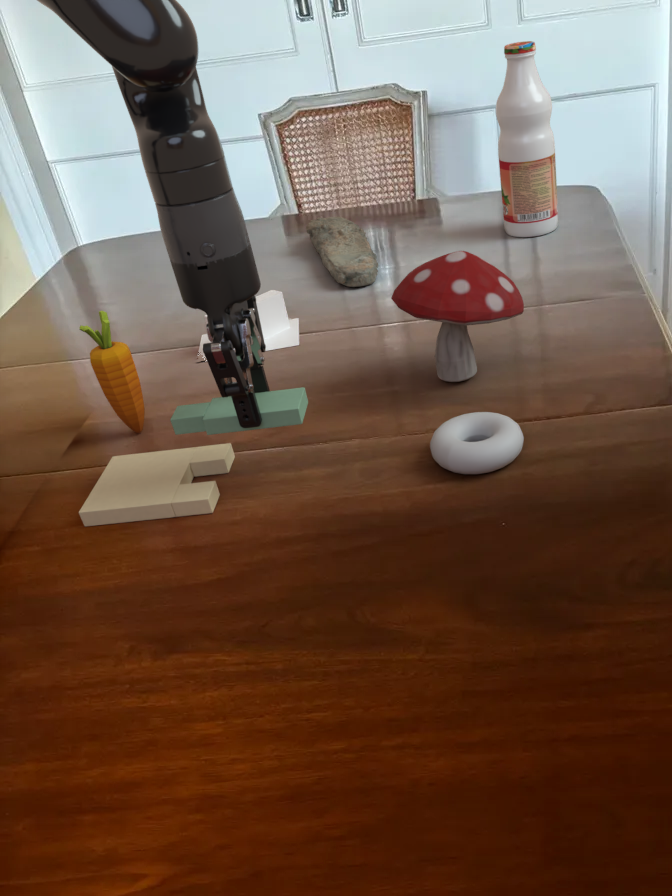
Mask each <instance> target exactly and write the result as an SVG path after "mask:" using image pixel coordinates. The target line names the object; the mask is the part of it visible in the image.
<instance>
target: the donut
mask: <svg viewBox="0 0 672 896" xmlns="http://www.w3.org/2000/svg"><path fill="white" fill-rule="evenodd" d="M524 439H525V437H524V433H523V431H522V429H521V426H520V425H519V423H517V422H516V421H515V420H514V419H512V418H511V417H510V416H508V415H504V414H501V413H498V412H491V411H475V412H469V413H464V414H463V413H462V414H461V415H458V416H454V417H451V418H450V419H448V420H446V421H444V422H443V423H442V424H440V426H438V427H437V428H436V429H435V431H434V432H433V434H432V436H431V439H430V441H429V448H430V453H431V457H432V458H433V460H434V461H435V462H436V463H437V464H438V465H439V466H440V467H441V468H442V469H445V470H447V471H450V472H452V473H456V474H461V475H481V474H486V473H492V472H494V471H497V470H499V469H500V470H501V469H503V468H505V467H506V466H508V465H509V464H511V463H512V462H514V461H515V460H516V458H517V457H518V456H519V455H520V454H521V452H522V450H523V446H524Z"/></svg>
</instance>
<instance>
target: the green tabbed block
mask: <svg viewBox="0 0 672 896" xmlns="http://www.w3.org/2000/svg"><path fill="white" fill-rule="evenodd" d="M255 396H256V399H257V403H258V406H259V410H260V414H261V418H262V422H261V425H260V426H258V427H251V428H242V427H241V426H240V424H239V421H238V417H237V414H236V411H235V407H234V404H233V401H232V397H231V396H230V397H225V398H223V397H222V396H220V397H212V399H211V400H210V401H208V402H206V401H205V402H199V403H189V404H182V405H177V406H176V408H175V409H174V412H173V413H172V416H171V418H170V423H171V426H172V429H173V433H174V434H175V435H177V436H179V435H186V434H195V433H202V432H203V433H204V432H206V435H207V436H211V435H219V434H220V435H221V434H229V433H238V432H248V431H255V430H264V429H272V428H280V427H281V428H282V427H289V426H297V425H298V426H300V425H302V424H303V423H304V419H305V415H306V412H307V408H308V405H309V399H308V394H307V391H306V387H303V386H302V387H295V388H286V389H285V388H284V389H277V390H270V391H268V392H260V393H255Z"/></svg>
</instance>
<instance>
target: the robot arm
mask: <svg viewBox="0 0 672 896" xmlns="http://www.w3.org/2000/svg"><path fill="white" fill-rule="evenodd" d="M36 1H37V2H39V4H41V5H43V6H45V7H46V8H48V9H49V10H50V11H51V12H53V13H54V14H55V15H56V16H57V17H59V18H60V19H61V20H62V21H63V22H64V23H65V24H66V25H67V26H68V28H70V29H71V30H72V31H73V32H74V33H75V34H76V35H78V36H79V37H80V38H81V39H82V40H83V41H84V42H85V43H86V44H87V45H88V46H89V47H91V49H93V50H94V51H95V52H96V53H97V54H98V55H99V56H100V57H102V59H104V60H105V61H106V62H107V63H108V64H109V65H110V66H111V68H112V71H113V74H114V77H115V79H116V82H117V84H118V88H119V91H120V93H121V96H122V99H123V101H124V104H125V107H126V109H127V112H128V115H129V117H130V120H131V122H132V125H133V127H134V131H135V134H136V138H137V144H138V149H139V153H140V158H141V162H142V166H143V170H144V173H145V176H146V179H147V183H148V186H149V188H150V192H151V195H152V199H153V201H154V204H155V208H156V212H157V219H158V224H159V228H160V233H161V235H162V236H161V237H162V239H163V242H164V245H165V249H166V252H167V255H168V259H169V262H170V265H171V268H172V272H173V274H174V277H175V281H176V284H177V287H178V291H179V293H180V297H181V300H182V302H183V303H184V304H185V305H186V306H187V307H188V308H191V309H194V310H200V311H201V312H204V313H205V315H207V320H208V323H207V324H206V325H205V330H206V334H207V335H208V339H209V341H210V342H211V343H204V344H203V352H204V355H205V357H206V359H207V361H206V362H207V364H208V367H209V369H210V372H211V374H212V377H213V379H214V381H215V384H216V386H217V390H218V391H219V394H220V397H223V398H225V397H230V396H231V397H232V401H233V404H234V407H235V411H236V414H237V417H238V421H239V424H240V426H241V427H242V428H251V427H258V426H260V425H261V422H262V418H261V414H260V410H259V406H258V403H257V399H256V396H255V393H260V392H268V391H271V390H270V386H269V383H268V379H267V375H266V372H265V368H264V365H265V357H264V353H266V351H265V349H266V345H265V343H264V338H263V333H262V328H261V324H260V319H259V314H258V309H257V304H256V296H257V294H258V293H259V292H260V290H261V285H262V284H261V279H260V276H259V271H258V268H257V264H256V260H255V259H256V258H255V256H254V252H253V248H252V244H251V240H250V236H249V233H248V229H247V225H246V222H245V217H244V215H243V210H242V208H241V206H240V203H239V200H238V198H237V195H236V193H235V190H234V189H235V188H234V187H233V183H232V179H231V175H230V171H229V167H228V164H227V159H226V156H225V151H224V148H223V144H222V141H221V139H220V136H219V133H218V131H217V128H216V127H215V124H214V123H213V121H212V120H211V117H210V115H209V112H208V108H207V106H206V101H205V97H204V93H203V89H202V86H201V81H200V78H199V73H198V69H197V64H198V60H199V53H200V51H199V50H200V49H199V48H200V47H199V40H198V39H199V38H198V35H197V31H196V28H195V25H194V22H193V21H192V18H191V17H190V15H189V14H188V12H187V11H186V9H185V8H184V7H183V6H182V4H180V3H179V2H178V1H177V0H36ZM233 379H235V381H233Z"/></svg>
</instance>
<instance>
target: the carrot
mask: <svg viewBox="0 0 672 896" xmlns="http://www.w3.org/2000/svg"><path fill="white" fill-rule="evenodd" d="M98 317H99V321H100V324H101V332H100V331H99V329H95V331H94V330H93V328H91V327H90V326H89V325H80V326H79V331H80V332H83V333H85V334H87V335H88V336H89V337H90V338H91V339H92V340H93V341H94V342H95V343H96V345H97V346H95V347H93V348H92V349H91V350H90V352H89V359H90V365H91V368H92V370H93V373H94V375H95V377H96V380H97V381H98V384H99V386H100V388H101V391H102V393H103V395H104V397H105V398H106V400H107V402H108V403H109V405H110V407H111V408H112V409H113V411H114V413H115V414H116V415H117V416H118V418H119V419H120V420H121V422H122V423H123V424H124V425H125V426H127V428H129V429H130V430H131V431H132V432H134V433H136V434H138V435H140V434H141V433H142V432H143V430H144V424H145V411H146V410H145V402H144V401H145V400H144V395H143V389H142V386H141V381H140V376H139V373H138V370H137V366H136V364H135V361H134V358H133V355H132V352H131V349H130V347H129V345H128V344H127V343H125V342H121V341H112V334H111V326H110V324H111V322H110V319H109V316H108V312H107V311H104V310H99V311H98Z"/></svg>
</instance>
